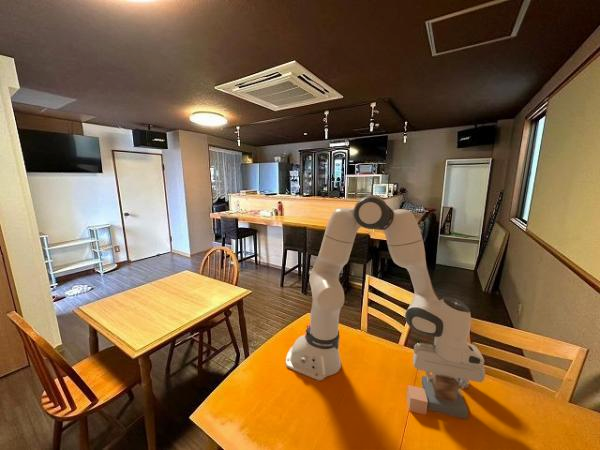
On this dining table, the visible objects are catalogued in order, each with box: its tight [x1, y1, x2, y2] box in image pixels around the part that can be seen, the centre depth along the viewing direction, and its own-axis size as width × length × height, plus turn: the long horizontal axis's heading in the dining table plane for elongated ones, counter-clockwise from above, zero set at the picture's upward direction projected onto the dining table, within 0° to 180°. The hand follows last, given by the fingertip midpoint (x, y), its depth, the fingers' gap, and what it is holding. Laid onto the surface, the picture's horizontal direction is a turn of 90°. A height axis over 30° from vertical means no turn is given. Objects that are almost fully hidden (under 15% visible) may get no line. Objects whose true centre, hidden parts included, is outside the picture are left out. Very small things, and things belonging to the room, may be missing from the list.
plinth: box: [421, 375, 469, 420], centre depth 81 cm, size 11×11×3 cm
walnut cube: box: [431, 372, 459, 402], centre depth 80 cm, size 6×6×6 cm
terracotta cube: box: [406, 384, 428, 416], centre depth 78 cm, size 5×5×5 cm
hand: (444, 384), depth 80 cm, fingers open, 8 cm apart
